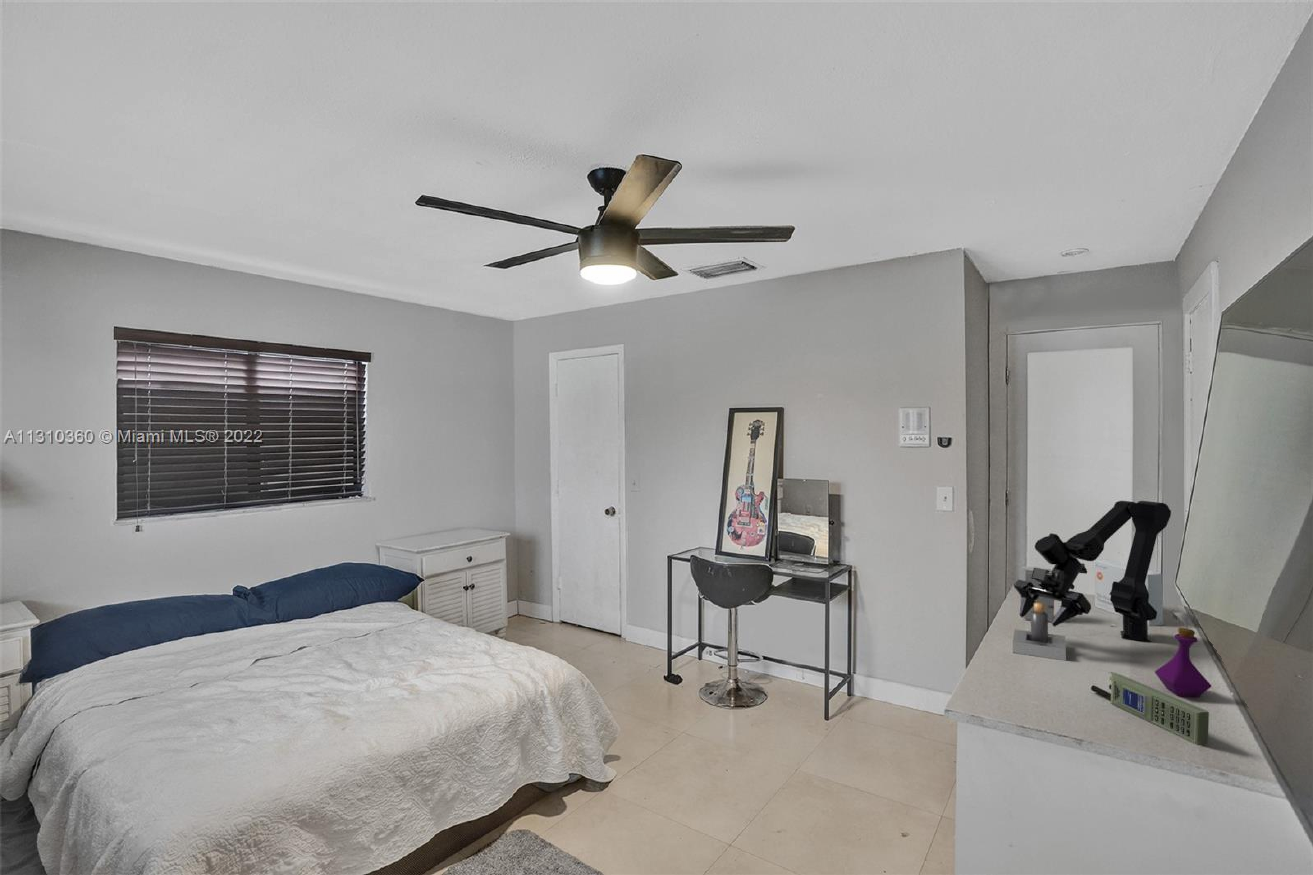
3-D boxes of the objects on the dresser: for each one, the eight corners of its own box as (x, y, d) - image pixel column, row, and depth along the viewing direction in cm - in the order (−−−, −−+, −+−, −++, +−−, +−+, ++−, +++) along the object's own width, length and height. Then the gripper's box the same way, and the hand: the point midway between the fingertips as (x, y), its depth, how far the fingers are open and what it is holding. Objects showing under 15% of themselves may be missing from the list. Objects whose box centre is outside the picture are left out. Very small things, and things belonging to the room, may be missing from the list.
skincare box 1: (1024, 620, 200) (1023, 569, 200) (1020, 614, 207) (1020, 565, 207) (1055, 623, 197) (1055, 571, 197) (1051, 616, 204) (1050, 567, 204)
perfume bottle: (1212, 701, 140) (1211, 618, 140) (1173, 698, 141) (1172, 617, 141) (1191, 687, 147) (1190, 609, 147) (1154, 685, 149) (1153, 608, 149)
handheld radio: (1196, 747, 120) (1085, 694, 145) (1211, 746, 121) (1098, 693, 145) (1197, 712, 120) (1086, 664, 145) (1212, 711, 121) (1099, 664, 145)
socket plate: (1015, 640, 182) (1015, 629, 182) (1065, 647, 175) (1065, 636, 175) (1012, 652, 172) (1012, 641, 172) (1065, 660, 165) (1065, 648, 165)
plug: (1031, 646, 176) (1030, 601, 176) (1048, 648, 174) (1047, 603, 174) (1030, 650, 173) (1030, 604, 173) (1048, 653, 171) (1047, 606, 171)
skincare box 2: (1093, 607, 214) (1092, 559, 214) (1108, 606, 214) (1107, 559, 214) (1148, 626, 193) (1147, 573, 193) (1164, 625, 194) (1164, 572, 193)
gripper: (1017, 551, 184) (991, 594, 179) (1083, 563, 167) (1056, 610, 162) (1036, 576, 187) (1010, 618, 182) (1103, 589, 170) (1076, 637, 165)
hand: (1036, 620), depth 173 cm, fingers open, 9 cm apart
